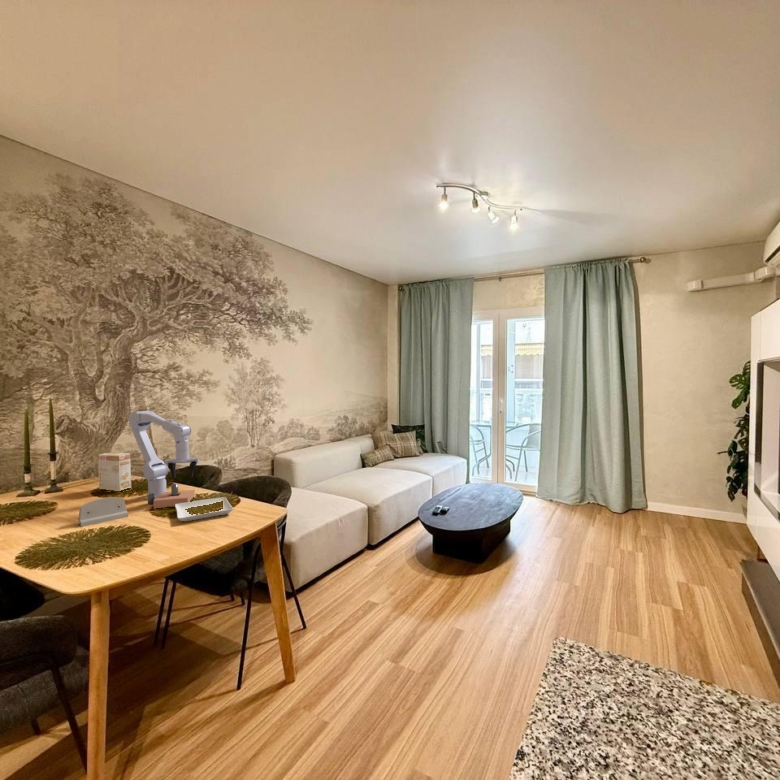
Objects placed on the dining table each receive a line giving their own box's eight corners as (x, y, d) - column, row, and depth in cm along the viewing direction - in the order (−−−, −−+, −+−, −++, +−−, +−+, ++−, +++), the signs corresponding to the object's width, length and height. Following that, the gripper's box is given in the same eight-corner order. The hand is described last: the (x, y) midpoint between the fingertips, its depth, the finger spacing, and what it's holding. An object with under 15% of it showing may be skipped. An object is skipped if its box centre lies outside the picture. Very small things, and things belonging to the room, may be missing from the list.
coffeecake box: (131, 489, 212) (130, 453, 212) (119, 492, 206) (118, 455, 205) (111, 487, 217) (110, 451, 217) (98, 490, 210) (97, 454, 210)
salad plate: (234, 516, 168) (234, 508, 168) (177, 526, 157) (177, 517, 157) (225, 503, 186) (225, 496, 186) (174, 511, 175) (174, 503, 175)
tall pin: (172, 502, 187) (172, 483, 187) (179, 502, 188) (178, 483, 188) (170, 504, 184) (170, 485, 184) (177, 503, 185) (177, 484, 185)
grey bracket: (80, 527, 156) (77, 502, 158) (78, 528, 159) (76, 503, 162) (129, 516, 168) (126, 493, 170) (126, 517, 171) (124, 494, 174)
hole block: (163, 500, 191) (162, 492, 191) (194, 497, 195) (194, 489, 195) (153, 509, 178) (153, 500, 177) (187, 506, 181) (187, 497, 181)
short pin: (148, 502, 187) (148, 493, 187) (155, 502, 188) (155, 493, 188) (146, 504, 185) (146, 495, 184) (153, 504, 185) (153, 494, 185)
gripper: (163, 452, 187) (164, 480, 187) (196, 450, 191) (197, 478, 191) (167, 449, 194) (168, 477, 194) (199, 448, 198) (200, 475, 198)
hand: (183, 477), depth 193 cm, fingers open, 7 cm apart
